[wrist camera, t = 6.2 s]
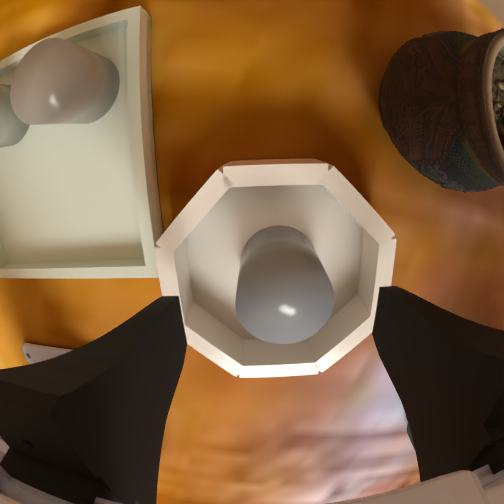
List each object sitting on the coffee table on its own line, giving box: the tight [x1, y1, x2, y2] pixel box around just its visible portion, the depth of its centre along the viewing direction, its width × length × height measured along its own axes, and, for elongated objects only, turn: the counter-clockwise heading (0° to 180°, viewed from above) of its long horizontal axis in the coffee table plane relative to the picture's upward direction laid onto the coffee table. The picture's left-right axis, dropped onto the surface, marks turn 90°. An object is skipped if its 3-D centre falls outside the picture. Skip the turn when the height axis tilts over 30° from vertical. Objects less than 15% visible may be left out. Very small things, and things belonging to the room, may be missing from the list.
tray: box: [0, 5, 163, 278], centre depth 13 cm, size 13×12×2 cm
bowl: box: [154, 158, 397, 378], centre depth 14 cm, size 10×10×3 cm
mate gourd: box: [379, 29, 504, 192], centre depth 8 cm, size 7×8×10 cm
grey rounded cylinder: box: [235, 225, 335, 344], centre depth 13 cm, size 4×4×4 cm
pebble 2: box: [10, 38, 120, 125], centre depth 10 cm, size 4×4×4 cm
